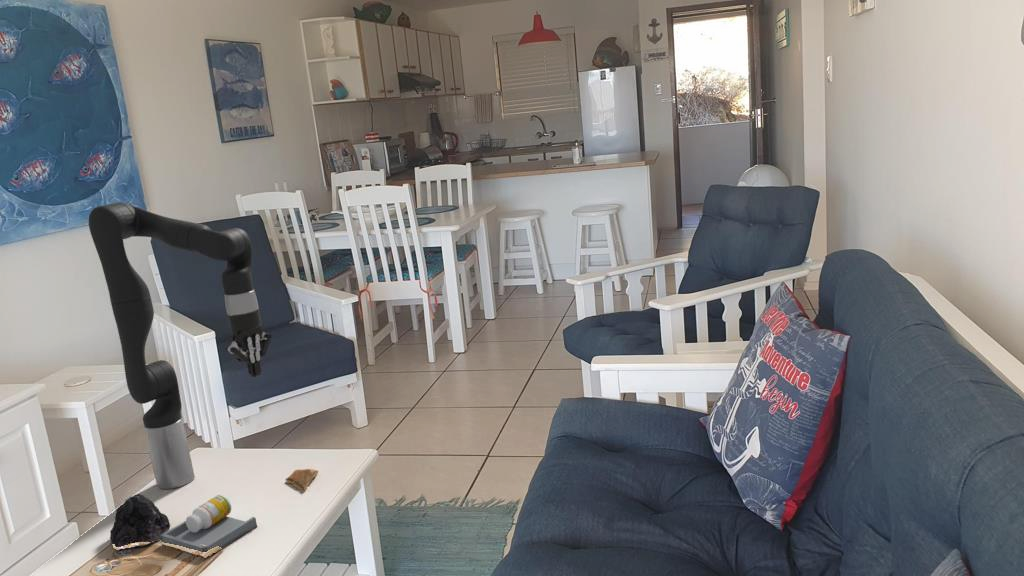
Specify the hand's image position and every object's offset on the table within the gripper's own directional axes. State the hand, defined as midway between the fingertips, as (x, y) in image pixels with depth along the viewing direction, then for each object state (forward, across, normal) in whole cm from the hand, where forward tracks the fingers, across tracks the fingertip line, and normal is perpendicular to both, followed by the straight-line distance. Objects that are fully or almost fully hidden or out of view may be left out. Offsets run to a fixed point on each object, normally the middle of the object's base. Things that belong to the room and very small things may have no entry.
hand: (255, 375), depth 199 cm
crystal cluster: (+29, +33, -9) cm, 45 cm away
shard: (+30, -3, +8) cm, 31 cm away
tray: (+29, +26, +7) cm, 39 cm away
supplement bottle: (+26, +18, +3) cm, 32 cm away
